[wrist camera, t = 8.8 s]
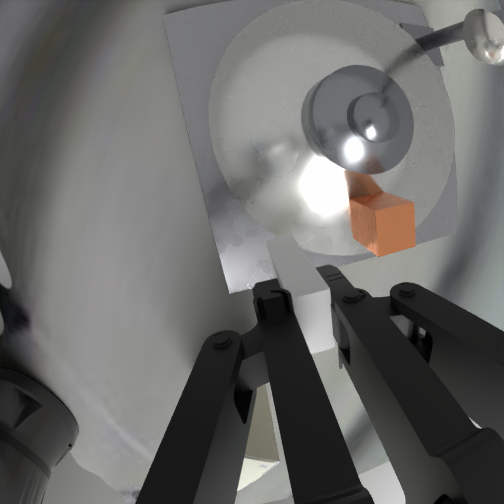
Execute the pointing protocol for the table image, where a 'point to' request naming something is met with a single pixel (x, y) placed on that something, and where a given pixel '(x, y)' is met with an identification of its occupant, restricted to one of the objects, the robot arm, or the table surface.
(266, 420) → the skincare box
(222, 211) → the turntable base
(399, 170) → the platter
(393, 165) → the cover
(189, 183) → the table surface
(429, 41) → the post
